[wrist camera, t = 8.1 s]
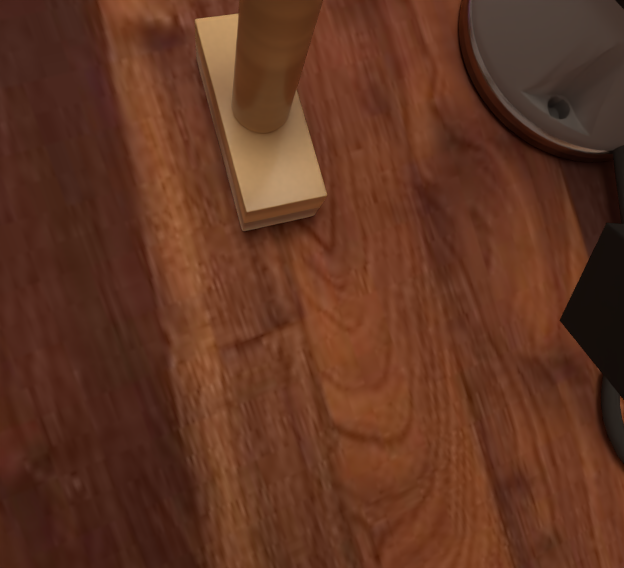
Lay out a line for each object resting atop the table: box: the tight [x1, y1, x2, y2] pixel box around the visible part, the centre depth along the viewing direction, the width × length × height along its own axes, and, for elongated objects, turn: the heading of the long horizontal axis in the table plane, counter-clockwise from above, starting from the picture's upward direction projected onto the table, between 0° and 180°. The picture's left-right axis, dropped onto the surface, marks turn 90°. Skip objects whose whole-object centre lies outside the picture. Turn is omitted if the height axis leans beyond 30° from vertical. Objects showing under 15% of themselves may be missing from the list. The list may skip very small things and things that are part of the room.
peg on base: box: [195, 0, 327, 231], centre depth 22 cm, size 10×4×14 cm, turn 16°
